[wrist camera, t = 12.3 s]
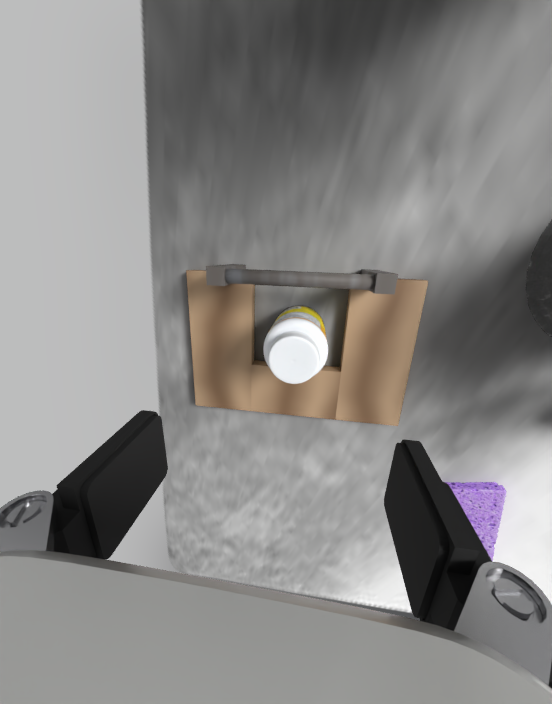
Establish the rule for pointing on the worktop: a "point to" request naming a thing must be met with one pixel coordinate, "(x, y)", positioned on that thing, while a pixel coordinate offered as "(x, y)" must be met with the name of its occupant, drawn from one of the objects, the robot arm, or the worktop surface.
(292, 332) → the supplement bottle
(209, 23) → the worktop surface
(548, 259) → the tankard
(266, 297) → the worktop surface
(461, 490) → the sponges
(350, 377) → the shelf board
